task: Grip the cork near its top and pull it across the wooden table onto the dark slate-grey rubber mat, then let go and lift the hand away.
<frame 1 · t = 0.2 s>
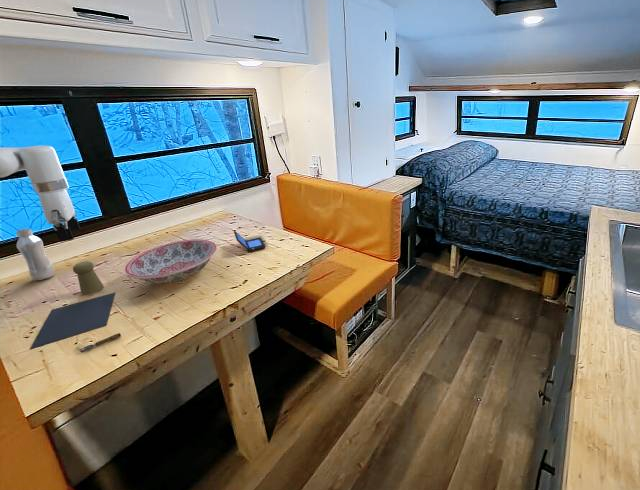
hand: (70, 235, 102), 22 cm above the table, tool pointing down, fingers open, 9 cm apart
plastic bottle: (45, 278, 117), on the table
ceramic bowl: (178, 274, 118), on the table
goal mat: (78, 317, 95), on the table
cork: (93, 290, 109), on the table
handheld console: (250, 247, 139), on the table
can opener: (101, 344, 84), on the table
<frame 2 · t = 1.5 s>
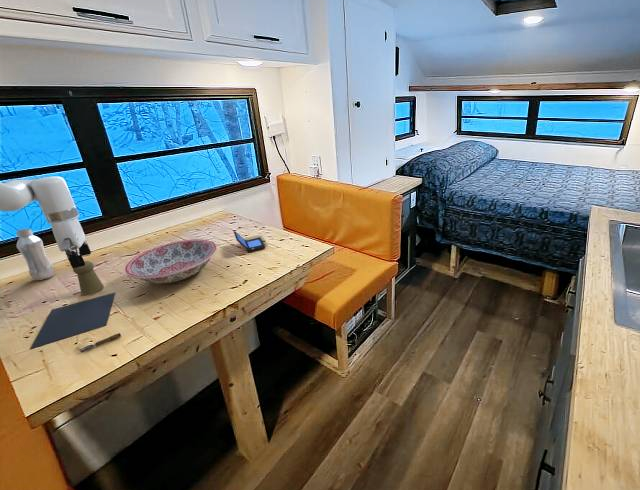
hand: (82, 260, 105), 12 cm above the table, tool pointing down, fingers open, 9 cm apart
nothing on the table moved.
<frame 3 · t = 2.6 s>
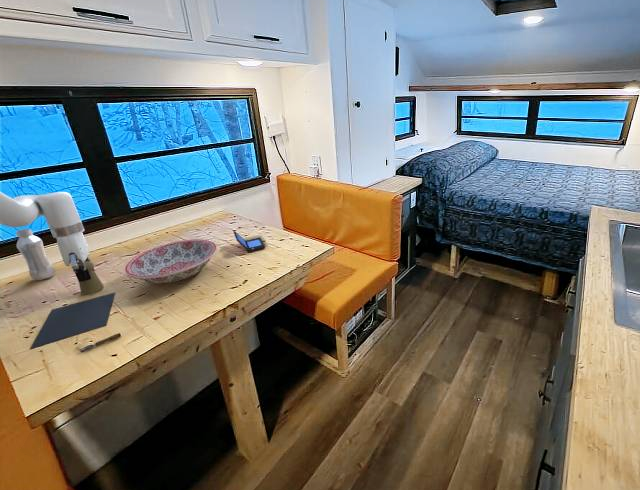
hand: (87, 275, 107), 6 cm above the table, tool pointing down, fingers closed on cork, 5 cm apart
cork: (93, 290, 109), on the table, touching gripper
everything else where it was.
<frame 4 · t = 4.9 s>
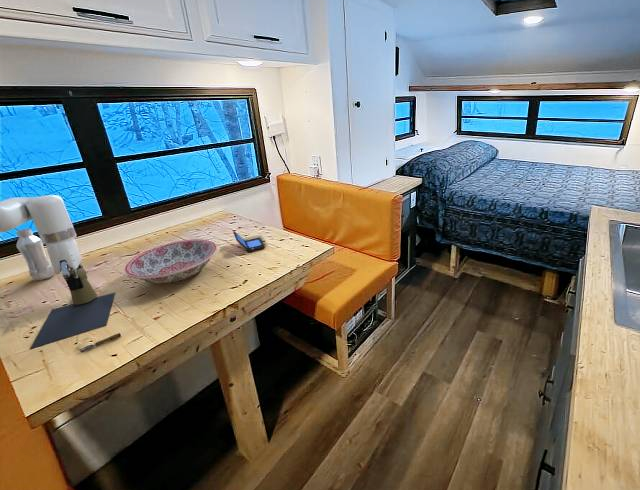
hand: (79, 284, 101), 7 cm above the table, tool pointing down, fingers closed on cork, 5 cm apart
cork: (85, 299, 103), point 1 cm above the table, touching gripper
everything else where it was.
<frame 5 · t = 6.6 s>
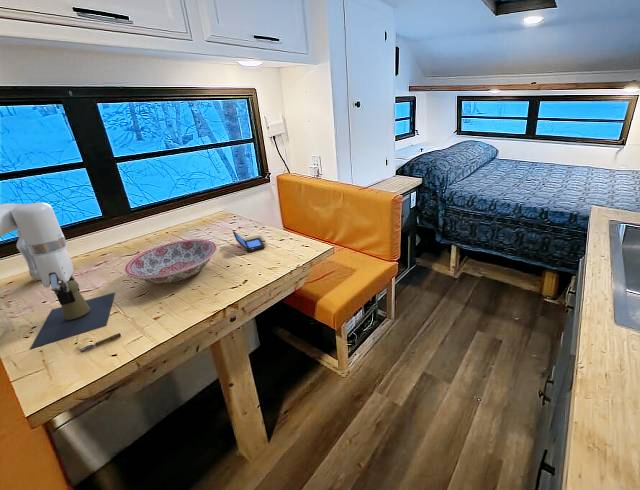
hand: (70, 297, 94), 7 cm above the table, tool pointing down, fingers closed on cork, 5 cm apart
cork: (77, 313, 96), point 1 cm above the table, touching gripper
everything else where it was.
when the fingers open (6 cm above the table, at t = 7.5 s): cork stays where it is, resting on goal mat.
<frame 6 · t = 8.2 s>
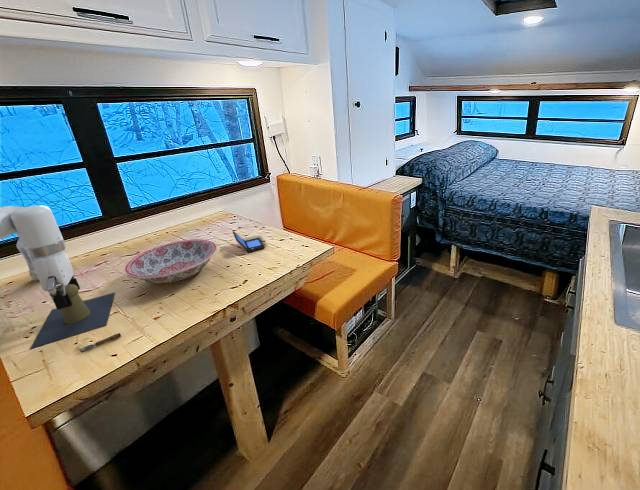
hand: (69, 298, 93), 7 cm above the table, tool pointing down, fingers open, 9 cm apart
cork: (77, 317, 95), resting on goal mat
everything else where it was.
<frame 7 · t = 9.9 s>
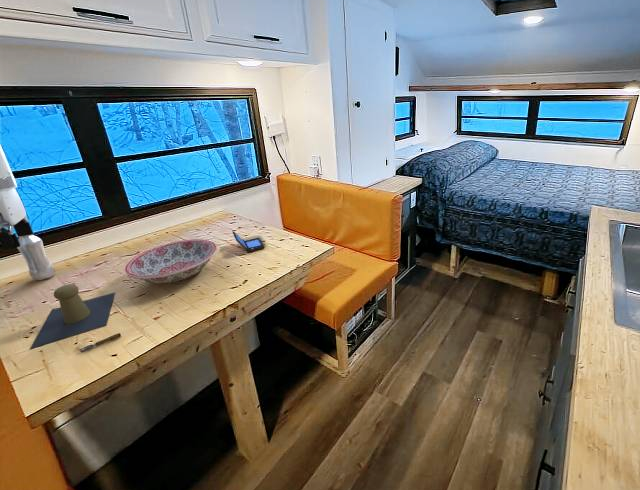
hand: (19, 241, 88), 26 cm above the table, tool pointing down, fingers open, 9 cm apart
nothing on the table moved.
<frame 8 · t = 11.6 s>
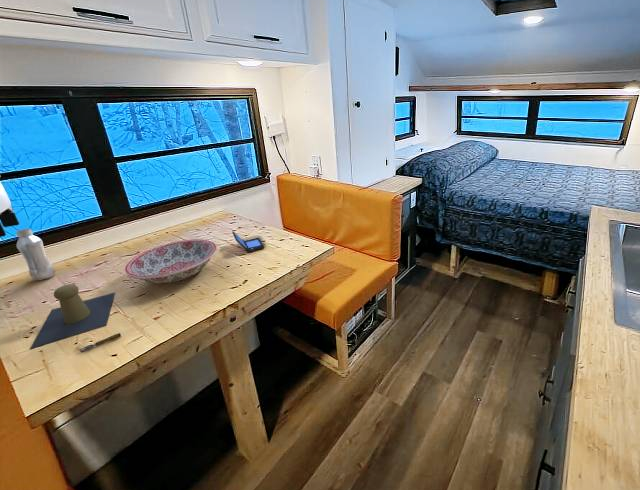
hand: (5, 231, 89), 28 cm above the table, tool pointing down, fingers open, 9 cm apart
nothing on the table moved.
at the end: cork inside the target area (0.1 cm from its centre), resting on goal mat; cork tilted 0°; the gripper is holding nothing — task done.
